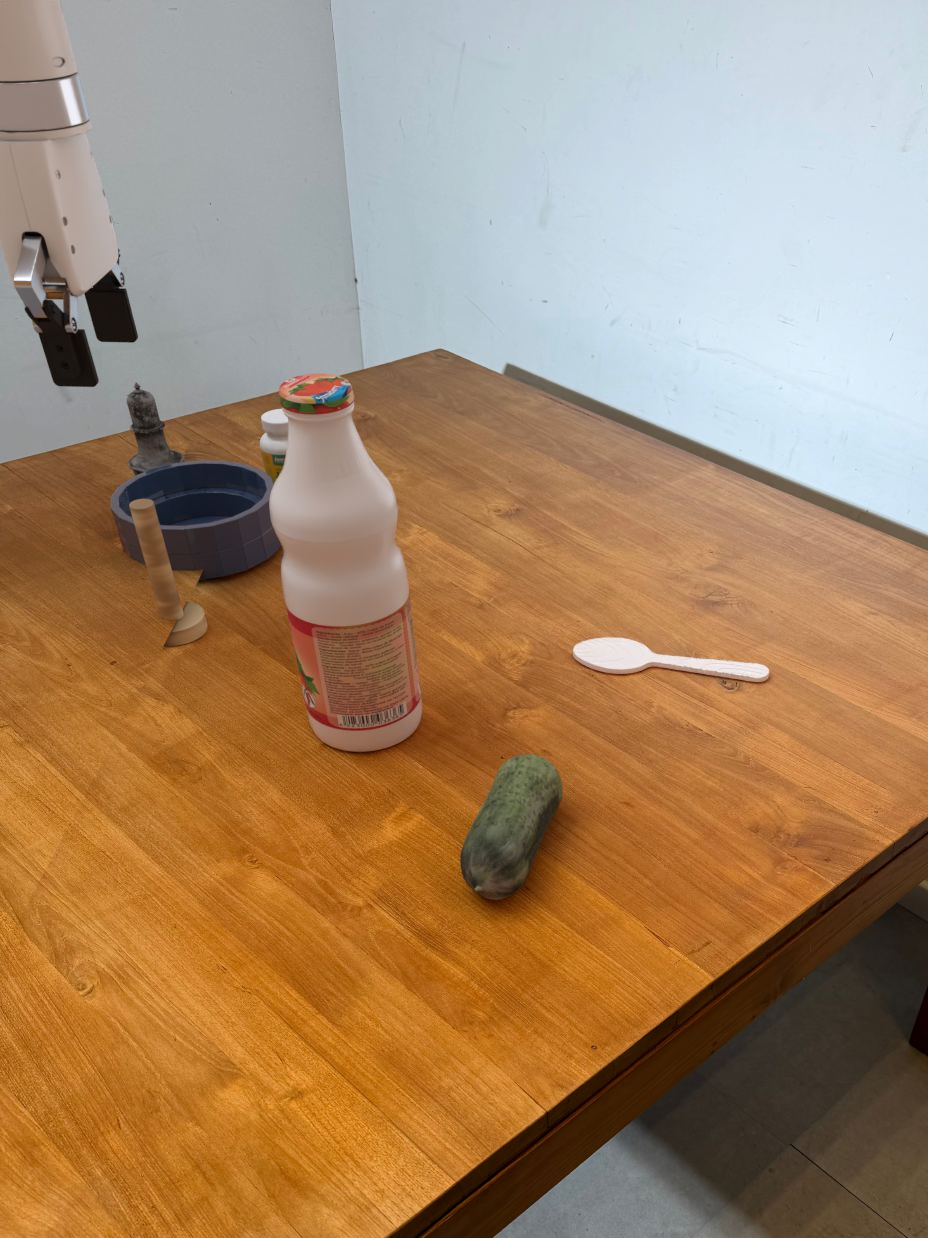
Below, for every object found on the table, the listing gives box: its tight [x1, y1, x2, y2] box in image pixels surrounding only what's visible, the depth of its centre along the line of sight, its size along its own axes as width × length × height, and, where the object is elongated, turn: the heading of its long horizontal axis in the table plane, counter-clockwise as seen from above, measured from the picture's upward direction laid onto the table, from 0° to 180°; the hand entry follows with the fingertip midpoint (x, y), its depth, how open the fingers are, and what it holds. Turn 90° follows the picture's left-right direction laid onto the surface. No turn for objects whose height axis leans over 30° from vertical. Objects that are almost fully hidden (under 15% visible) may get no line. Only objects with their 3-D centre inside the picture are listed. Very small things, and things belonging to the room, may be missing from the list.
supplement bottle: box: [259, 408, 289, 483], centre depth 121 cm, size 5×5×10 cm
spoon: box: [572, 636, 770, 683], centre depth 102 cm, size 5×18×1 cm, turn 80°
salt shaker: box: [126, 382, 186, 476], centre depth 122 cm, size 6×6×12 cm
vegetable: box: [459, 753, 564, 901], centre depth 81 cm, size 14×5×5 cm, turn 167°
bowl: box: [110, 459, 282, 581], centre depth 114 cm, size 16×16×6 cm
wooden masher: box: [129, 499, 209, 647], centre depth 100 cm, size 6×6×12 cm
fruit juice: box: [269, 373, 423, 753], centre depth 85 cm, size 9×9×28 cm
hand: (98, 362), depth 88 cm, fingers open, 9 cm apart
